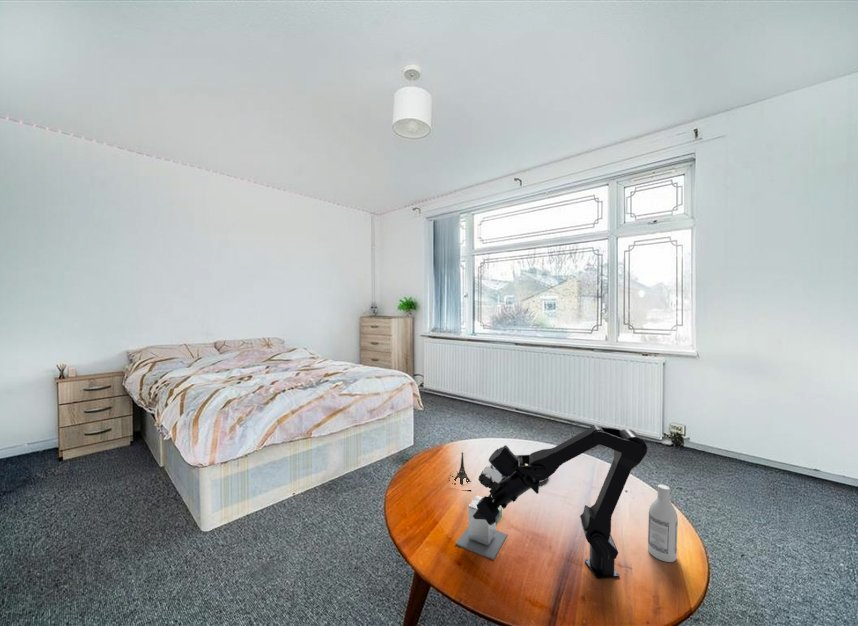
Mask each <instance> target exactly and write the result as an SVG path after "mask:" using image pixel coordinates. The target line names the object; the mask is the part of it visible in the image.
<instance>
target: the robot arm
mask: <svg viewBox="0 0 858 626" xmlns="http://www.w3.org/2000/svg"><path fill="white" fill-rule="evenodd" d="M597 446H603V447H606V448H609V449H611V450H612V451H613V459H612V462H611V464H610V467H609V469H608V472H607V474H606V477H605V479H604V482H603V483H602V486H601V489H600V491H599V493H598V496H597V498H596V501H595V502H594V504H593V505H591V506H589V505H587V504H585V505H584V508H583V511H582V514H580V516H579V518H580V522H581V527H582V529H583V533H584V536H585V539H586V541H587V543H588V544H589V558H584V563H586V566H588V568H589V570H590V571H591V572H592V573H593V574H594V576H595V577H596V578H597V579H607V578H608V579H610V578H620V573H619V571H618V570H617V569H616V568H615V562H616V561H615V559H617V556H618V554H619V550H618V549H617V546H616V543H615V541H614V538H613V536H612V534H611V532H612V517H613V514H614V511H615V509H616V507H617V505H618V502H619V500H620V498H621V495H622V493H623V490H624V488H625V486H626V483H627V481H628V478H629V476H630V474H631V472H632V470H633V469H635V468H636V467H637V466H639V465H640V464H641V463H642V461H643V459H644V458H645V457H646V455H647V454H648V450H649V449H648V446H647V444H646V442H645V441H644V440H643V439H642V437H640V435H639V434H638V433H637V432H636V431H634V430H632V429H630V428H625V429H624V428H623V429H619V428H616V427H615V428H614V427H605V426H600V425H596V424H594V425H592V426H589V428H588V429H586V430H584V431H581V432H579V433H578V434H576V435H574V436H572V437H571V438H569V439H568V440H565V441H563V442H561V443H560V444H557V445H556V446H554V447H551V448H543V449H540V450H537V451H534V452H532V453H530V454H519V455H518V454H517V455H518V456H517V457H516V456H515V455H516V454H514V453H513V452H512V450H511V449H510V448H509V447H508V445H506V444H505V445H504V446H501V447H500V448H497V449H495V450H494V451H493V453H492V454H491V455H490V456H489V458H488V462H489V463H490V464H491V466H492V465H493V466H494V467H495V468H496V469H497V471H498V472H499V473H500V474H501V476H500V475H499V474H498V473H497V472H496V471H494V470H493V467H491V466H489V465H487V466H485V467H484V468H483V469H482V471H481V473H480V475H479V476H478V481H479V483H480V484H481V485H482V486H484V487H485V488H487V489H490V490H489V491H488V492H489V495H488V496H486V495H485V496H483V498H482V499H481V500H480V501H479V502H478V504H477V508H478V510H477V511H476V512H475V514H474V515H473V517H474V519H484V520H486V521H487V522H488V524H489V525H492V524H494V523H495V522H496V521H497V519H498V518H499V516H500V511H499V510H498V508H499V507H500V506H501V507H500V508H502V510H504V509H506V508H507V506H508V505H509V504H510V503H512V502H513V503H514V502H516V501H517V500H518V498H519V497H520V496H522V495H523V494H524V493H526V492H527V491H529V490H532V491H533V492H534V493H536V494H539V492H540V483H541V482H543V480H544V481H546V480H547V479H548V478H550V477H552V475H553V474H555V473H556V471H557V470H558V469H559V468H560V467H561V466H562V465H563V464H565V463H566V462H569V461H570V460H573V459H574V458H576V457H579V456H580V455H582V454H584V453H585V452H587V451H589V450H592V449H593V448H595V447H597ZM525 464H528V465H527V466H525ZM540 481H541V482H540ZM496 523H497V522H496Z"/></svg>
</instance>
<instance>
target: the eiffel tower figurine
mask: <svg viewBox="0 0 858 626" xmlns="http://www.w3.org/2000/svg"><path fill="white" fill-rule="evenodd" d="M464 463H465V462H464V452H463V450H462V452H461V459H460V467H459V470H458V472H457V475H455V477H454V478H455V479H454V480H455V481H456V479H457V478H460V484H461V485H462V486H464V485H463V479H464V478H466V482H467V484H469V483H468V482H470V483H472V481H471V480H470V478H469V477H468V475H467V473H466V469H465V466H464V465H465V464H464ZM467 480H468V481H467ZM452 484H453V483H452ZM454 485H456V483H454Z"/></svg>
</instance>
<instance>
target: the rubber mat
mask: <svg viewBox="0 0 858 626" xmlns="http://www.w3.org/2000/svg"><path fill="white" fill-rule="evenodd" d="M507 537H508V534H507V533H505V532H501V531H499V530H496V534H495V536H494V537H493V539H492V540H491V542H490V544H489V545H485V544H482V543H480V542H477V541H474V540H472V539H469V538H468V526H467V527H466V529H465V530H464V532H463V533H462V534H461V535H460V537H459V538H458V539H457V540H456V542H455V545H456V546H458V547H461V548H463V549H464V550H465V549H466V550H468V551H471V552H472V553H475V554H478V555H480V556H482V557H486V558H487V559H490V560H493V561H494V560H495V559H496V557H497V555H498V554H499V552H500V550H501V548H502V546H503V544H504V542H505V541H506V539H507Z"/></svg>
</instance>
